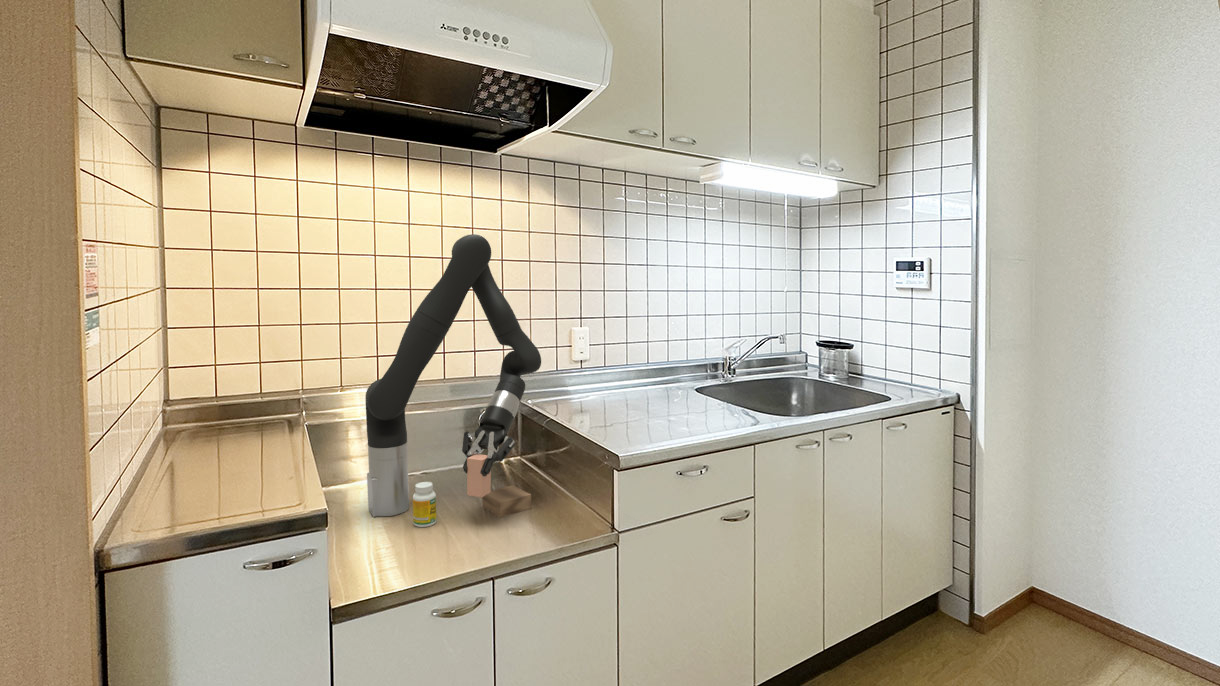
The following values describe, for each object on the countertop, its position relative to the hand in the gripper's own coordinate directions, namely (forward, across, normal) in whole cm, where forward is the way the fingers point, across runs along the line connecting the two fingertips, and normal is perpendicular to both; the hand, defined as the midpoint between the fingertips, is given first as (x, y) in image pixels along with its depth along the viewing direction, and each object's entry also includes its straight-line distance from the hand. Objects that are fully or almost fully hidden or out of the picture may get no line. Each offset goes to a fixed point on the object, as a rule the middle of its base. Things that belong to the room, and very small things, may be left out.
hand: (474, 473), depth 140 cm
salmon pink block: (+3, 0, +5) cm, 6 cm away
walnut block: (0, +2, +18) cm, 18 cm away
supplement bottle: (+11, -12, +7) cm, 18 cm away
